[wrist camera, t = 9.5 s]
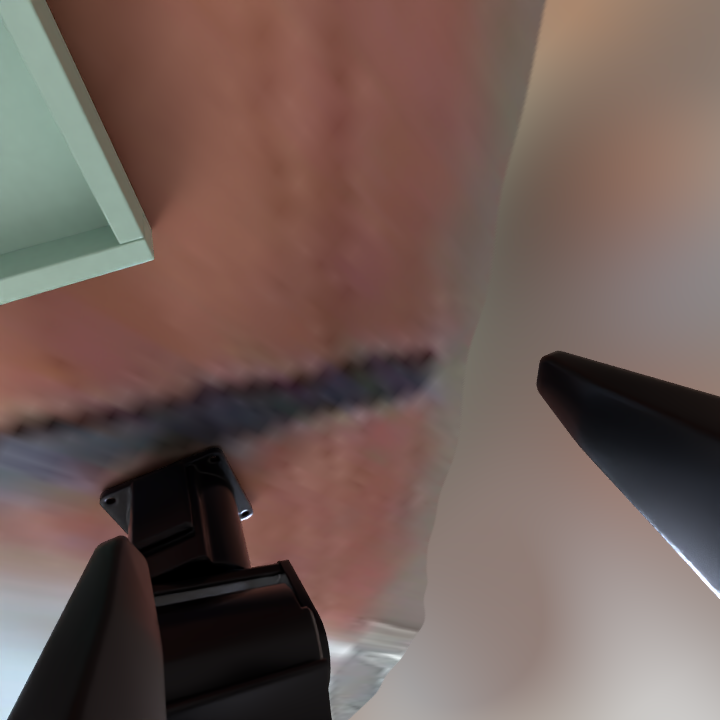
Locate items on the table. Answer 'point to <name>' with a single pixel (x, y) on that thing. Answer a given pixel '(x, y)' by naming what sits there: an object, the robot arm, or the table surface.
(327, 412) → the table surface
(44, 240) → the green tray
